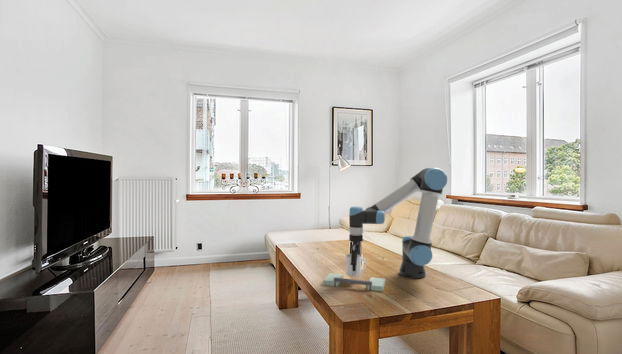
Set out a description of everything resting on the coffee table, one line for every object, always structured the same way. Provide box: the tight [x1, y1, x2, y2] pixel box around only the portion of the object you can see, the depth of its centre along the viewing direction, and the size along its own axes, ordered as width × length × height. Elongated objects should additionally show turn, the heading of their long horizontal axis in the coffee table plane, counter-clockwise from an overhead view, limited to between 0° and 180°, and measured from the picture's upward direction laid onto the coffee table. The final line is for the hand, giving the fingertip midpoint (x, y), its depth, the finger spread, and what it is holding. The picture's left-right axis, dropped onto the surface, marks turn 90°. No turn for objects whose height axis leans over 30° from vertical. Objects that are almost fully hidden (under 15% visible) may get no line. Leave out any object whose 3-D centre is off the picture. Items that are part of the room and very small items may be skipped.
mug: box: [345, 253, 367, 277], centre depth 183 cm, size 9×12×11 cm
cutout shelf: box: [323, 272, 386, 292], centre depth 178 cm, size 32×13×4 cm, turn 71°
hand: (355, 273), depth 183 cm, fingers closed on mug, 9 cm apart
